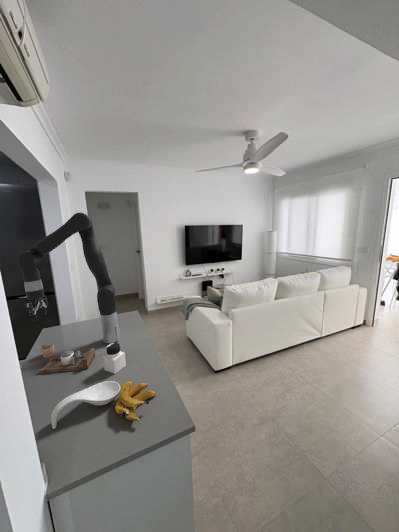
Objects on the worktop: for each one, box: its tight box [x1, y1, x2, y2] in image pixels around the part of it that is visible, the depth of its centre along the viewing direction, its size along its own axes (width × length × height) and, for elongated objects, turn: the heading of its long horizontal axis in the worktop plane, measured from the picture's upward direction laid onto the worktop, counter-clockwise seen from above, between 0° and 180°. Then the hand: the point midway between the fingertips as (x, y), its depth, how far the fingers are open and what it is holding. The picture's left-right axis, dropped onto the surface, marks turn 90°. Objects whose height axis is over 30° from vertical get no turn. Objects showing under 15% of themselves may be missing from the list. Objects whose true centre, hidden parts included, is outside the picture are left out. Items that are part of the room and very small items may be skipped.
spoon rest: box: [50, 380, 121, 430], centre depth 81 cm, size 24×12×7 cm, turn 132°
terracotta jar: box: [40, 342, 56, 359], centre depth 116 cm, size 6×6×6 cm
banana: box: [114, 381, 156, 423], centre depth 82 cm, size 15×19×6 cm
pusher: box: [72, 350, 81, 366], centre depth 107 cm, size 1×7×5 cm, turn 7°
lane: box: [38, 347, 96, 374], centre depth 107 cm, size 22×10×5 cm, turn 97°
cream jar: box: [60, 349, 75, 367], centre depth 107 cm, size 6×6×6 cm
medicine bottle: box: [102, 342, 127, 375], centre depth 103 cm, size 7×7×12 cm
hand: (39, 317), depth 116 cm, fingers open, 8 cm apart
